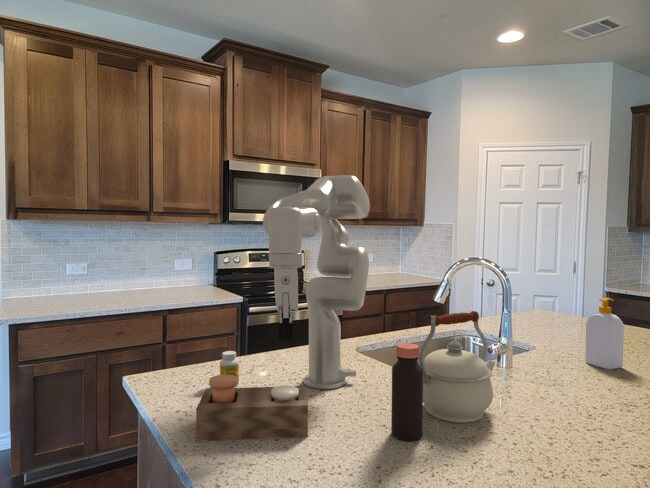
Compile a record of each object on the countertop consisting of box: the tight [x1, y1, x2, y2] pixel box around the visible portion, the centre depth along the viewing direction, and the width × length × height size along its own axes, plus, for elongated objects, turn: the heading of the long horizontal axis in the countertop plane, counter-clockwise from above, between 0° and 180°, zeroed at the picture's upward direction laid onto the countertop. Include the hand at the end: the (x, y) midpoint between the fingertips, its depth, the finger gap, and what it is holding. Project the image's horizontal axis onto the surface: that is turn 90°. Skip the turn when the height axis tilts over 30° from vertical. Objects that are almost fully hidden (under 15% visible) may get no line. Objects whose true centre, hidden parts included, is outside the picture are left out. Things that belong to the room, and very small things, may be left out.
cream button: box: [271, 385, 299, 401], centre depth 101 cm, size 6×6×6 cm
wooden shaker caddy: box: [195, 385, 309, 442], centre depth 101 cm, size 24×12×7 cm, turn 96°
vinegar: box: [390, 342, 424, 442], centre depth 97 cm, size 7×7×20 cm
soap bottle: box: [584, 297, 625, 371], centre depth 149 cm, size 9×7×23 cm
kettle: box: [418, 310, 496, 424], centre depth 110 cm, size 25×18×25 cm
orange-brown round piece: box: [208, 374, 239, 403], centre depth 100 cm, size 6×6×6 cm
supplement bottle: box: [219, 350, 240, 388], centre depth 128 cm, size 5×5×10 cm
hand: (285, 339), depth 101 cm, fingers closed
